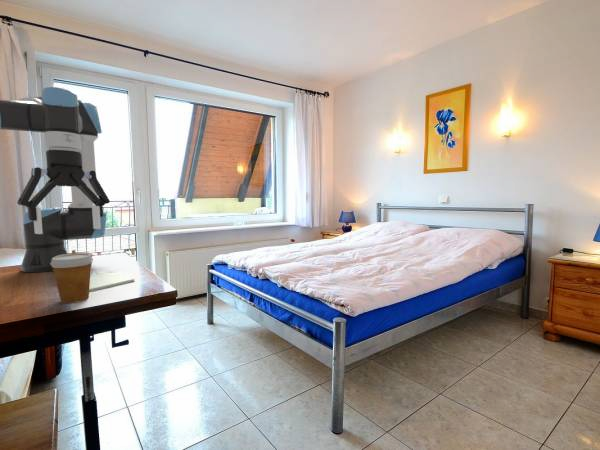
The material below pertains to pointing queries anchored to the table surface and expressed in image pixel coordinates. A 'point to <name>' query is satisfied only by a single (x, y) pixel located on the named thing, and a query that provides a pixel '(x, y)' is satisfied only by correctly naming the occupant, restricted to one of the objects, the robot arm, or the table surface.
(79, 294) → the disposable coffee cup
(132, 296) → the table surface
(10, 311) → the table surface
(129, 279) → the sage board
